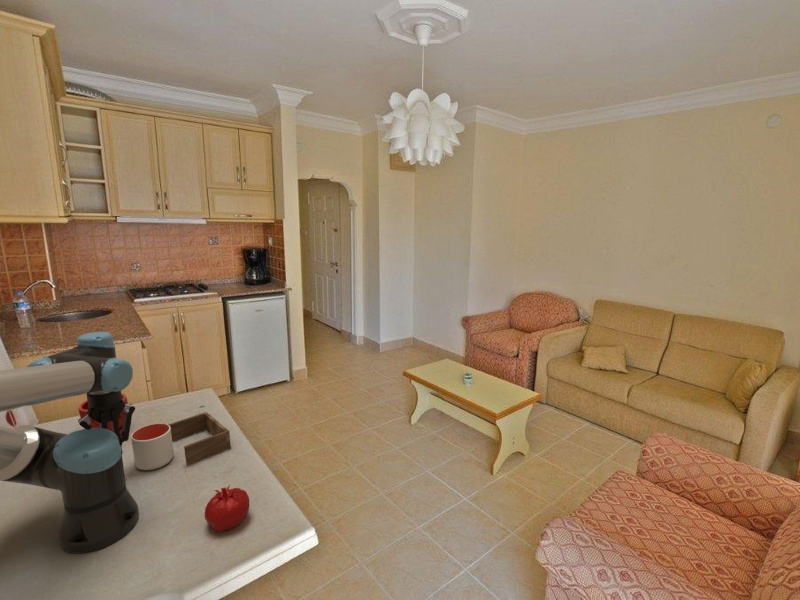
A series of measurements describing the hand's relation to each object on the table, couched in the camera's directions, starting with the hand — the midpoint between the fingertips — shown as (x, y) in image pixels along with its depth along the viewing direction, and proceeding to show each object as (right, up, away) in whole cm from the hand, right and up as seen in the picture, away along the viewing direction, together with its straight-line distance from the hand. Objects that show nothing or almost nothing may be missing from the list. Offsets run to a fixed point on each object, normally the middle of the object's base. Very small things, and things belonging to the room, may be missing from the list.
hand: (115, 466), depth 115 cm
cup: (+7, -2, +7) cm, 10 cm away
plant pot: (-18, +2, +23) cm, 29 cm away
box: (+16, 0, +17) cm, 23 cm away
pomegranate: (+38, -7, -15) cm, 42 cm away
